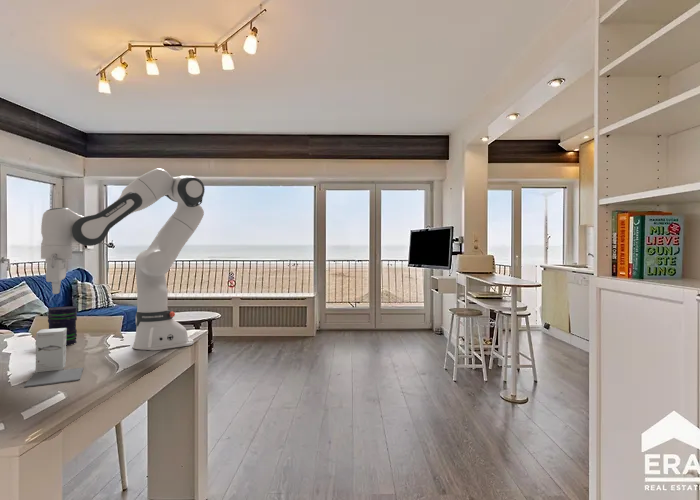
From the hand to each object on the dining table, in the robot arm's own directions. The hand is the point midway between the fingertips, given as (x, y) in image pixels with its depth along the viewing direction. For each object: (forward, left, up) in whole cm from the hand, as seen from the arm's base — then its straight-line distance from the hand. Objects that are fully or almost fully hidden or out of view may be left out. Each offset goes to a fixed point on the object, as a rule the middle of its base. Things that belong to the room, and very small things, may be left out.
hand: (56, 293), depth 144 cm
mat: (-3, +24, -23) cm, 33 cm away
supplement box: (0, +12, -24) cm, 26 cm away
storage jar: (+1, -30, -24) cm, 38 cm away
